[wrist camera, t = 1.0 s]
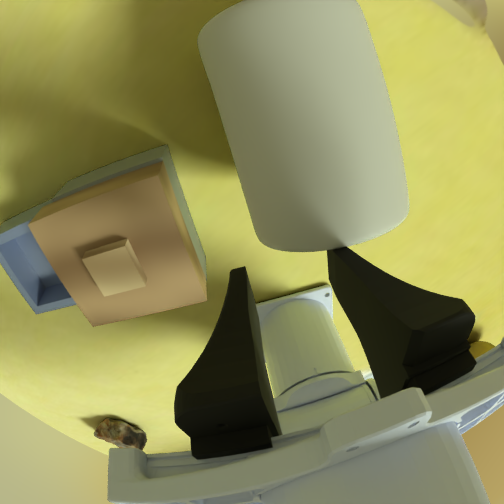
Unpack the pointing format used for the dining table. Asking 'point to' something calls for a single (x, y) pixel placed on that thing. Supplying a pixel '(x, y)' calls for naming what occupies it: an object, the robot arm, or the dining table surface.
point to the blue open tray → (31, 265)
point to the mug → (307, 121)
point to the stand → (131, 165)
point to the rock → (121, 434)
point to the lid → (122, 247)
